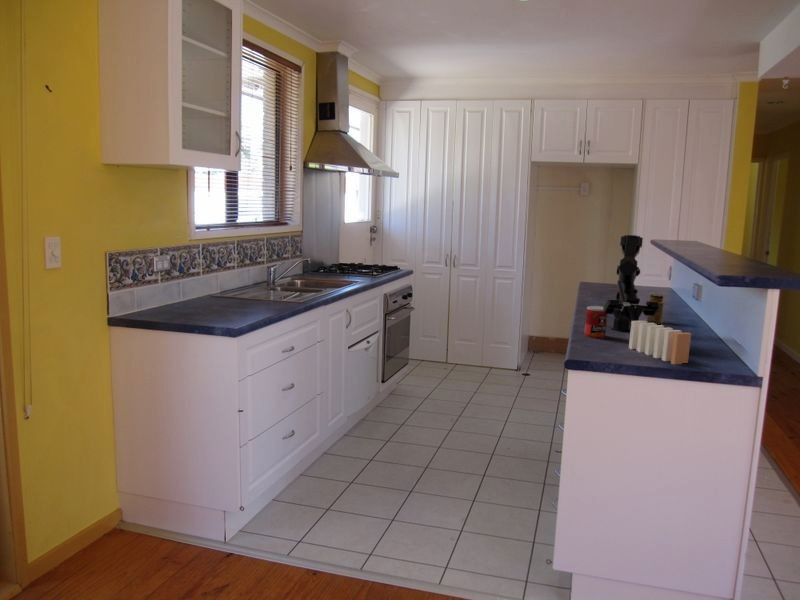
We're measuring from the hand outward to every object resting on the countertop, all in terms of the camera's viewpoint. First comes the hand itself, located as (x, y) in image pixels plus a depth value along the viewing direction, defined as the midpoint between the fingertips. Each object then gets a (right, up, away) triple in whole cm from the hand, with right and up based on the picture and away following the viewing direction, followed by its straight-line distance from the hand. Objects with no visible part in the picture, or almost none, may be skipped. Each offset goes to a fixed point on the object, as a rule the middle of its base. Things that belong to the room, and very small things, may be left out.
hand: (635, 326), depth 233 cm
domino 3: (+3, -9, -8) cm, 12 cm away
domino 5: (+6, -10, -15) cm, 19 cm away
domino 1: (0, -8, 0) cm, 8 cm away
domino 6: (+7, -11, -19) cm, 23 cm away
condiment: (+26, 0, +52) cm, 58 cm away
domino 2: (+2, -8, -4) cm, 9 cm away
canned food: (-9, -4, +18) cm, 21 cm away
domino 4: (+5, -10, -11) cm, 16 cm away
